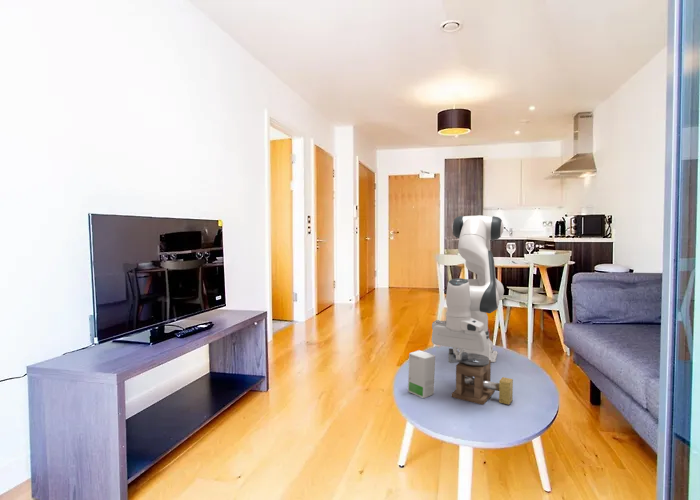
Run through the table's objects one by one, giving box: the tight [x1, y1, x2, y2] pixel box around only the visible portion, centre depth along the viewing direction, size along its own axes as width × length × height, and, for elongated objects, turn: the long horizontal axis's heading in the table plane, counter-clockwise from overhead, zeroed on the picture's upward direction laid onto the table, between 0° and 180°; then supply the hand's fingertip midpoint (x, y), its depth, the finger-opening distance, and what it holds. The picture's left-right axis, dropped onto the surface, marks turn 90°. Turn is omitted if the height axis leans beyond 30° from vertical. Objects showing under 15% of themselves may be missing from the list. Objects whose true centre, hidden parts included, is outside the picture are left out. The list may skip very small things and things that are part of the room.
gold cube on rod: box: [465, 376, 514, 406], centre depth 152 cm, size 4×20×8 cm, turn 54°
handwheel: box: [448, 347, 489, 367], centre depth 153 cm, size 16×11×6 cm
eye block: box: [451, 360, 495, 406], centre depth 154 cm, size 14×12×12 cm
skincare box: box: [407, 349, 436, 399], centre depth 156 cm, size 8×7×16 cm
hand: (458, 359), depth 150 cm, fingers closed
